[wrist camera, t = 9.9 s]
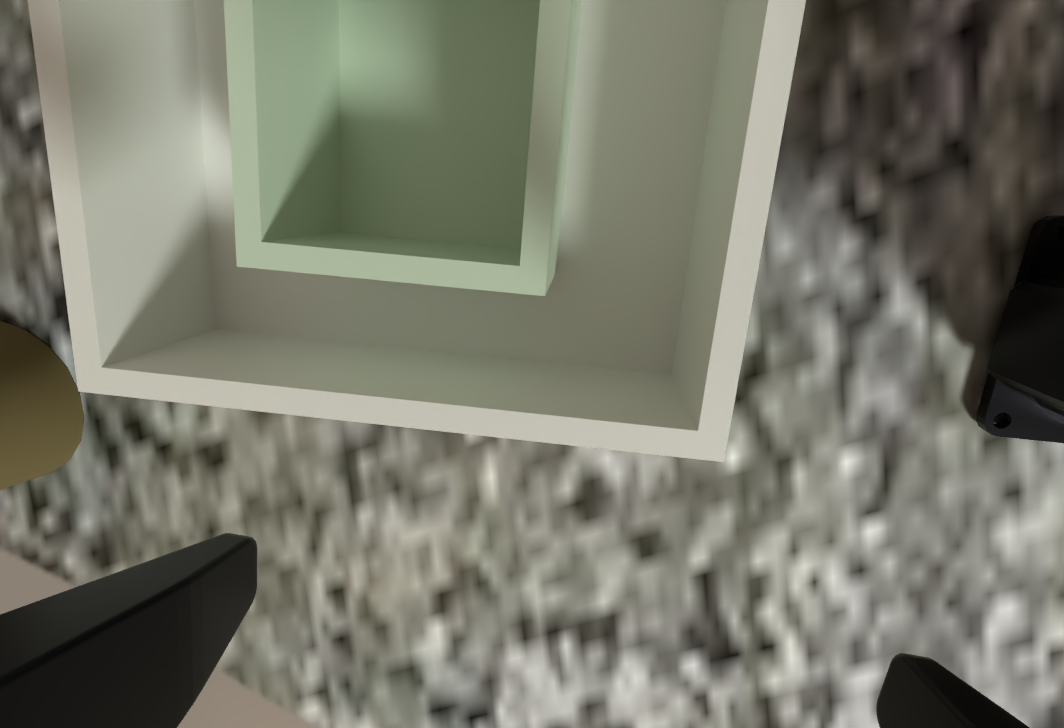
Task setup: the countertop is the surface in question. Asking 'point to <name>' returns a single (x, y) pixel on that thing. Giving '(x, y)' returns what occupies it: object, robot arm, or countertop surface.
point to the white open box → (415, 309)
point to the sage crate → (402, 138)
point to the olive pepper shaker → (34, 408)
